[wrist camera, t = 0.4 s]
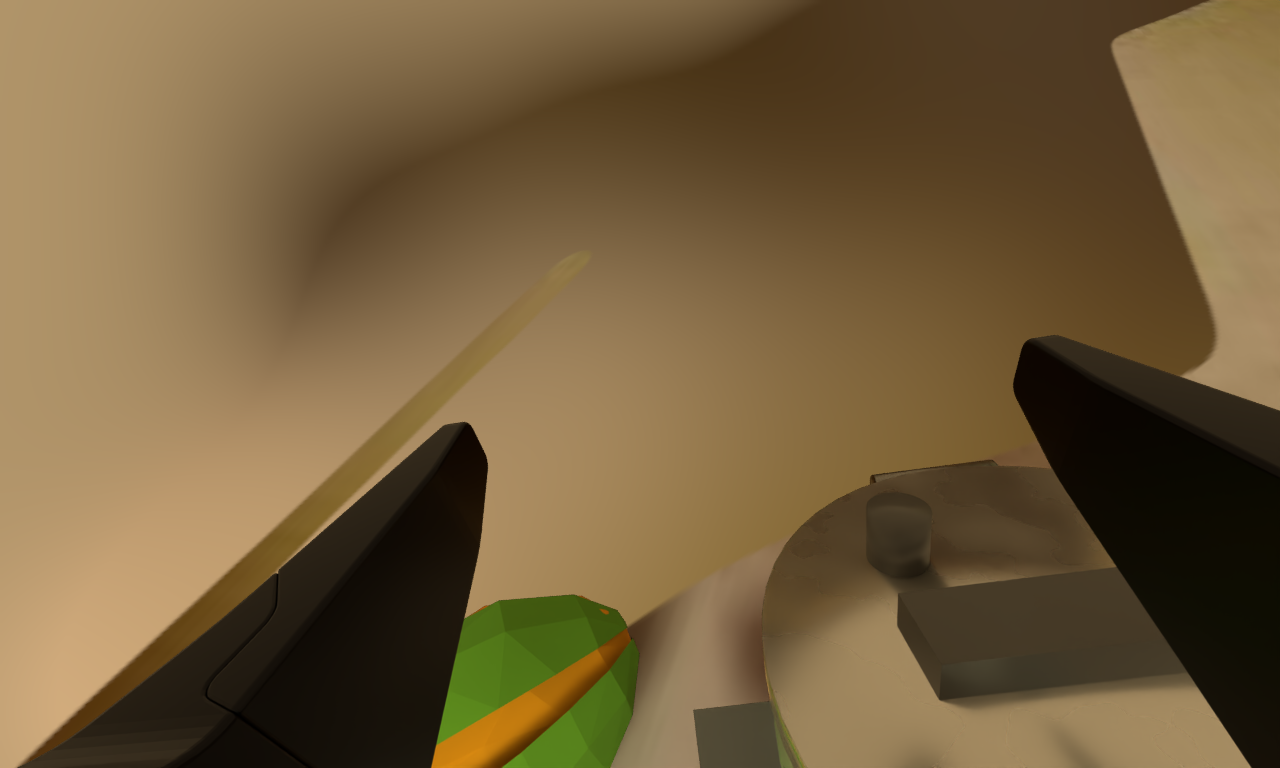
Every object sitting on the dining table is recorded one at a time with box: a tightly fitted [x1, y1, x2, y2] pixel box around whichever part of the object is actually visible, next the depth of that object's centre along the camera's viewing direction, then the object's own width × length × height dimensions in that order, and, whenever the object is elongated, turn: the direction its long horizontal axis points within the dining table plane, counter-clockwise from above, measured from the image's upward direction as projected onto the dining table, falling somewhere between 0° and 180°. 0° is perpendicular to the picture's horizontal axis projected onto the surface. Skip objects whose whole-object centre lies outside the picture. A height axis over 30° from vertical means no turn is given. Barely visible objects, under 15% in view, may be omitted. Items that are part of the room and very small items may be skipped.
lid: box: [762, 460, 1251, 768], centre depth 13 cm, size 15×15×3 cm
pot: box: [693, 701, 793, 768], centre depth 17 cm, size 14×18×5 cm
